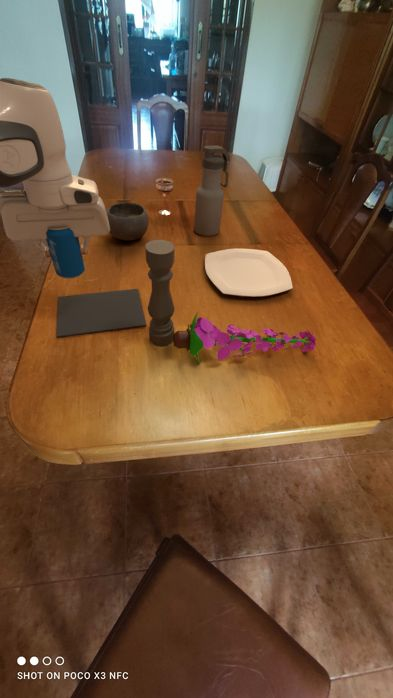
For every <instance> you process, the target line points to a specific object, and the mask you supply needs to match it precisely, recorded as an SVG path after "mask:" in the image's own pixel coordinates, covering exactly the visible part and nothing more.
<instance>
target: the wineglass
mask: <svg viewBox="0 0 393 698" xmlns="http://www.w3.org/2000/svg"><path fill="white" fill-rule="evenodd" d="M155 183H156V184H155V189H156V192H157V193H158V194H159V195H161V196H162V197H163V209H161V210H159V211H158V214H159V215H161V216H162V215H163V216H168V215H171V211H170V210H168V209H166V197H168V196H169V195H170V194H171V193H172V192H173V190H174V185H173V183H174V180H173V179H171V178H168V177H159V178H156V179H155Z"/></svg>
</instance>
